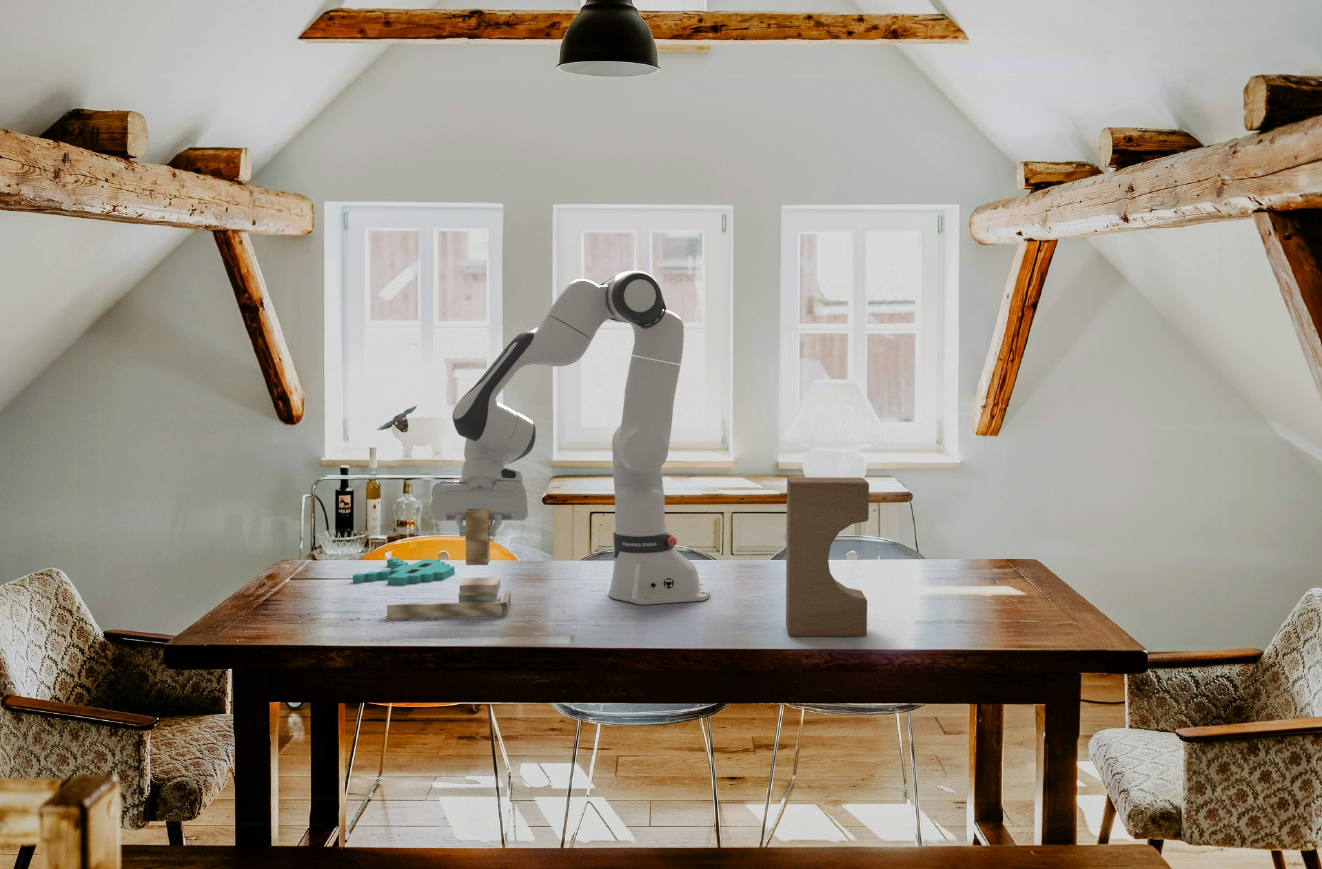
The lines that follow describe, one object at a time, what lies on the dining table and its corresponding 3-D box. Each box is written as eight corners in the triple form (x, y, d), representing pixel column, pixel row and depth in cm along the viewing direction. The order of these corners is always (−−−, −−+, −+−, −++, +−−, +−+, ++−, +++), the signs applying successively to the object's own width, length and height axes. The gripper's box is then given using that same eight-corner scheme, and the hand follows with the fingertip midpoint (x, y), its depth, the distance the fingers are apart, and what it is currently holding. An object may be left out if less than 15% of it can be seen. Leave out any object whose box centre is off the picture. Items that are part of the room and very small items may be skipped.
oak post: (489, 560, 218) (489, 508, 217) (487, 565, 214) (487, 512, 213) (468, 560, 218) (468, 508, 217) (465, 565, 214) (465, 512, 213)
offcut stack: (500, 605, 221) (500, 577, 220) (497, 613, 214) (497, 584, 213) (462, 605, 220) (462, 577, 220) (458, 614, 213) (457, 585, 213)
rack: (510, 608, 222) (510, 591, 222) (506, 621, 212) (506, 602, 212) (396, 610, 221) (396, 593, 221) (387, 623, 211) (386, 605, 211)
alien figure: (352, 584, 247) (432, 588, 243) (352, 575, 247) (431, 578, 243) (391, 566, 266) (465, 569, 262) (391, 557, 266) (464, 560, 262)
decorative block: (861, 626, 208) (863, 477, 205) (867, 637, 200) (869, 482, 197) (785, 626, 208) (786, 477, 206) (788, 636, 201) (789, 482, 198)
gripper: (431, 472, 221) (424, 526, 212) (528, 472, 222) (525, 526, 213) (434, 490, 225) (428, 543, 217) (530, 490, 227) (527, 543, 218)
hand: (477, 535), depth 215 cm, fingers closed on oak post, 4 cm apart
